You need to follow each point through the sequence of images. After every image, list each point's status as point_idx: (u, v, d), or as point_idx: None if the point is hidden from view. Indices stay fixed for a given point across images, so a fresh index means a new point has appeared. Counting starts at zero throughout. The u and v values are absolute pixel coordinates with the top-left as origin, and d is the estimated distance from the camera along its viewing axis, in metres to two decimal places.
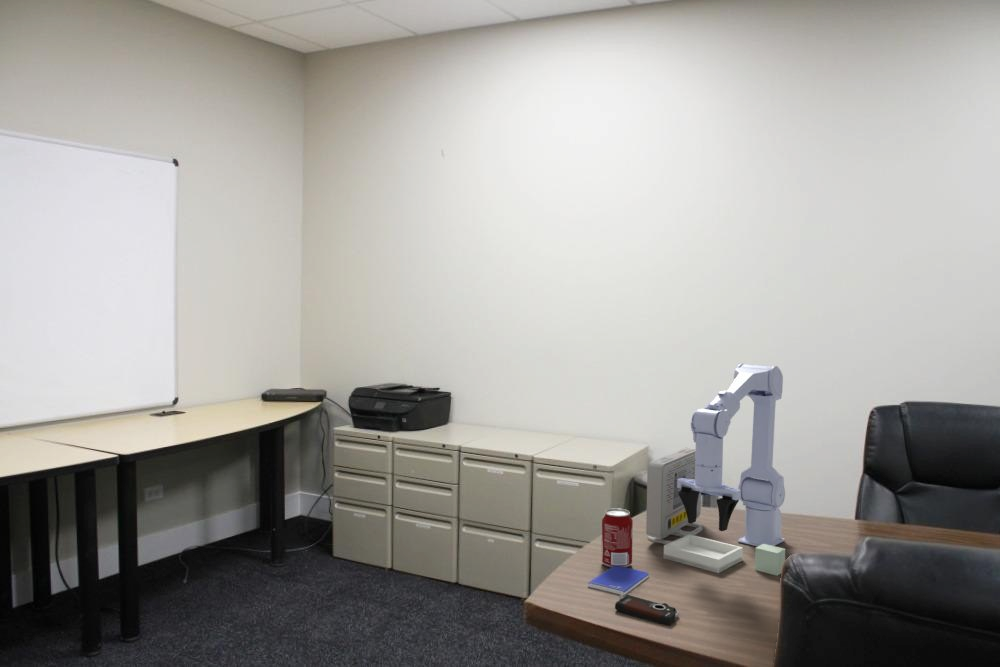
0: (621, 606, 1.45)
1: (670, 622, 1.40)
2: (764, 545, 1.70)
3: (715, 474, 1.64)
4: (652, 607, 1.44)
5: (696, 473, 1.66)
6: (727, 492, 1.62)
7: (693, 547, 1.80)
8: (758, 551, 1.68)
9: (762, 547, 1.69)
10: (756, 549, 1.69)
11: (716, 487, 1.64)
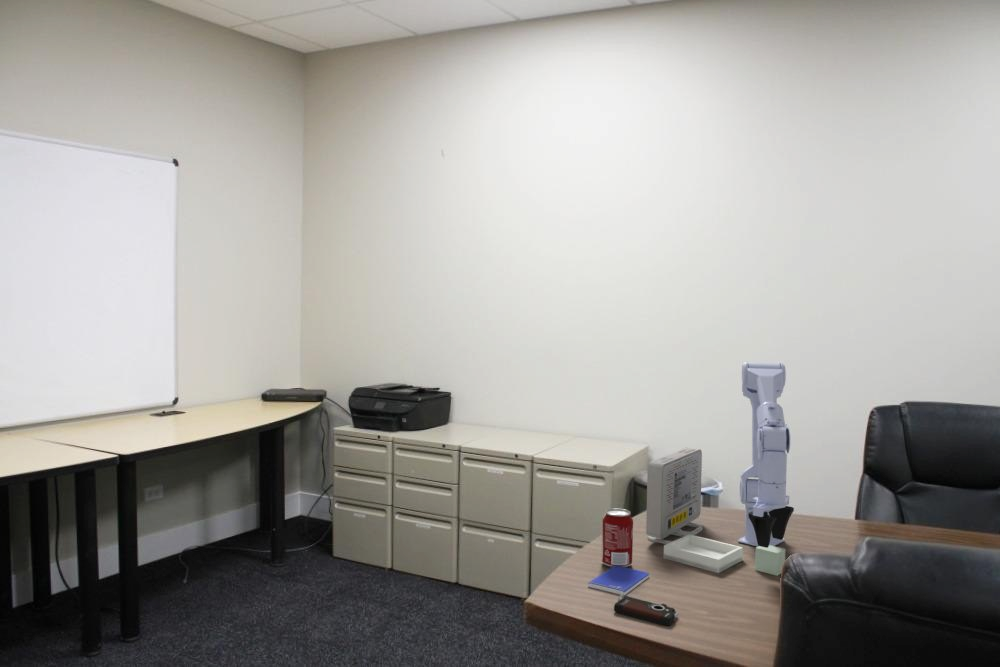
0: (620, 608, 1.45)
1: (670, 622, 1.40)
2: None
3: (761, 489, 1.67)
4: (651, 608, 1.44)
5: None
6: (755, 506, 1.65)
7: (693, 547, 1.80)
8: (758, 551, 1.68)
9: (762, 547, 1.69)
10: (756, 549, 1.69)
11: (761, 502, 1.67)
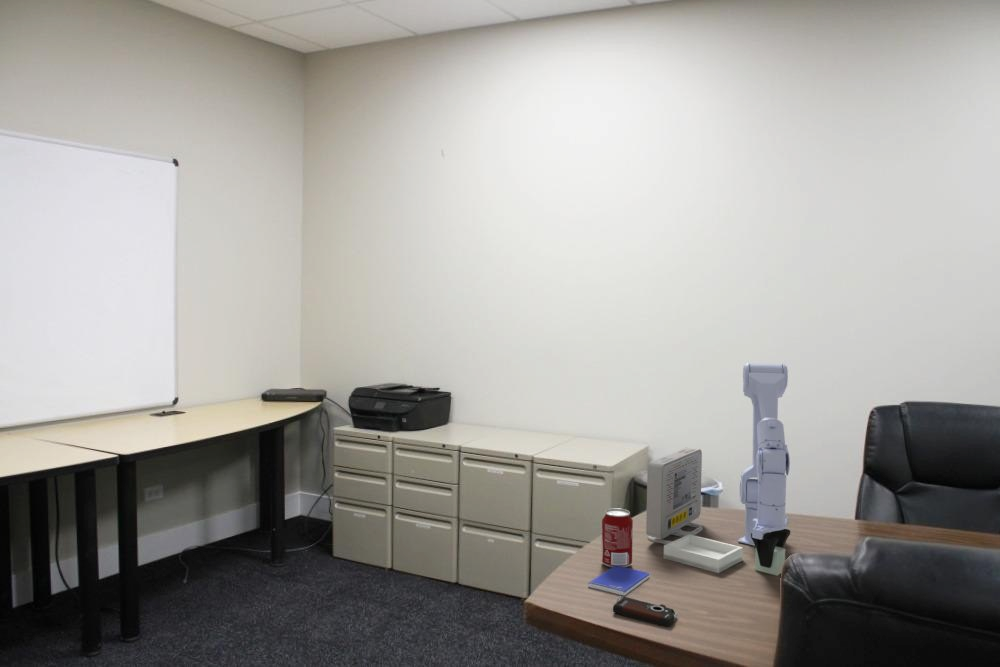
0: (619, 609, 1.44)
1: (669, 624, 1.39)
2: None
3: (760, 511, 1.67)
4: (650, 609, 1.43)
5: None
6: (754, 529, 1.65)
7: (693, 547, 1.80)
8: None
9: None
10: (756, 549, 1.69)
11: (760, 523, 1.67)
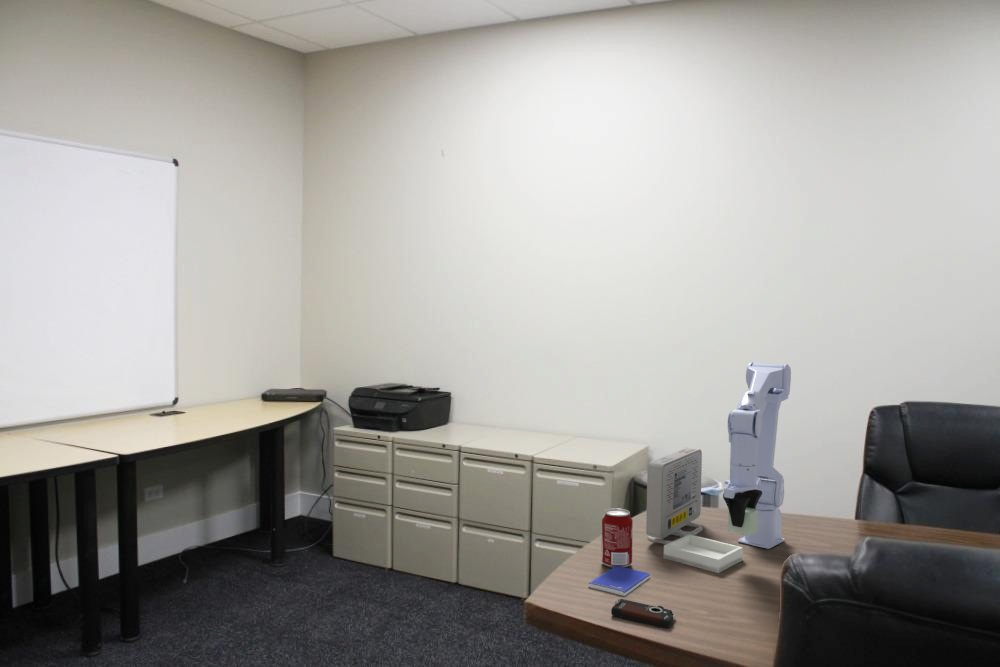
0: (618, 611, 1.43)
1: (669, 625, 1.39)
2: None
3: (732, 471, 1.70)
4: (649, 611, 1.42)
5: None
6: (726, 488, 1.68)
7: (693, 547, 1.80)
8: None
9: None
10: None
11: (732, 484, 1.70)
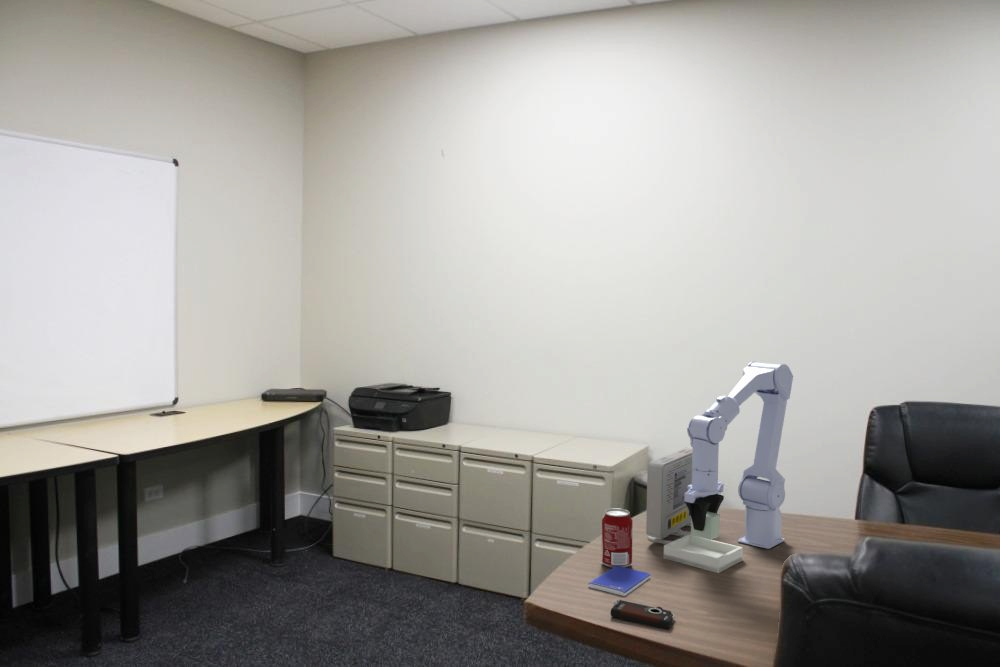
0: (617, 612, 1.42)
1: (669, 626, 1.38)
2: None
3: (694, 476, 1.74)
4: (648, 611, 1.42)
5: None
6: (687, 493, 1.72)
7: (693, 547, 1.80)
8: None
9: None
10: None
11: (694, 489, 1.74)
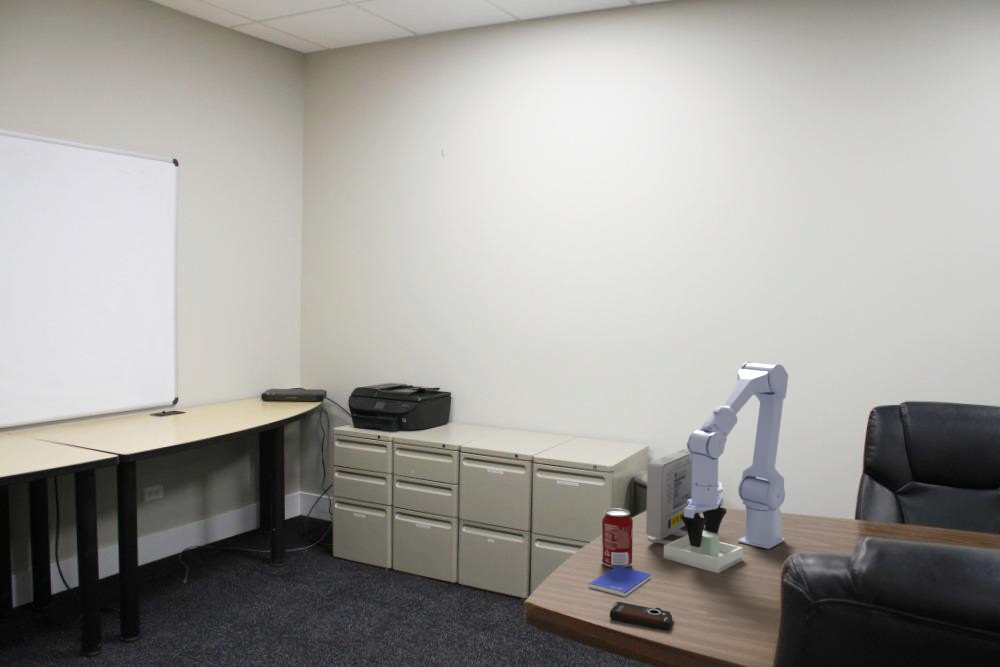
0: (616, 614, 1.42)
1: (669, 627, 1.38)
2: None
3: (693, 491, 1.74)
4: (648, 613, 1.41)
5: None
6: None
7: None
8: None
9: None
10: None
11: (693, 503, 1.74)
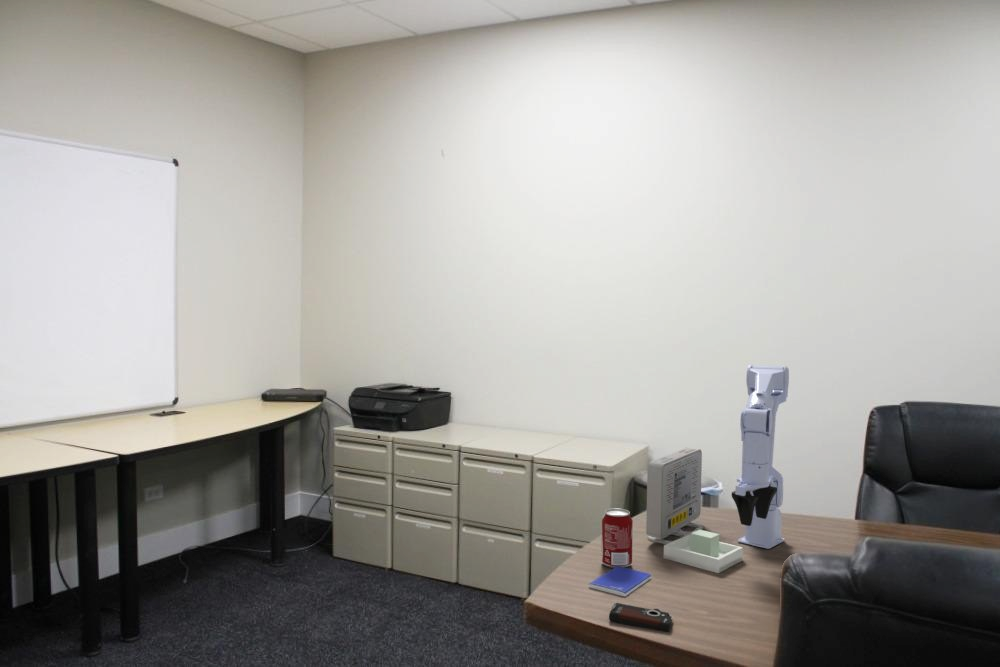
0: (616, 616, 1.41)
1: (669, 628, 1.37)
2: (700, 531, 1.77)
3: (744, 469, 1.72)
4: (647, 614, 1.41)
5: None
6: (738, 486, 1.70)
7: None
8: (693, 536, 1.75)
9: (697, 532, 1.75)
10: (691, 534, 1.75)
11: (744, 482, 1.72)
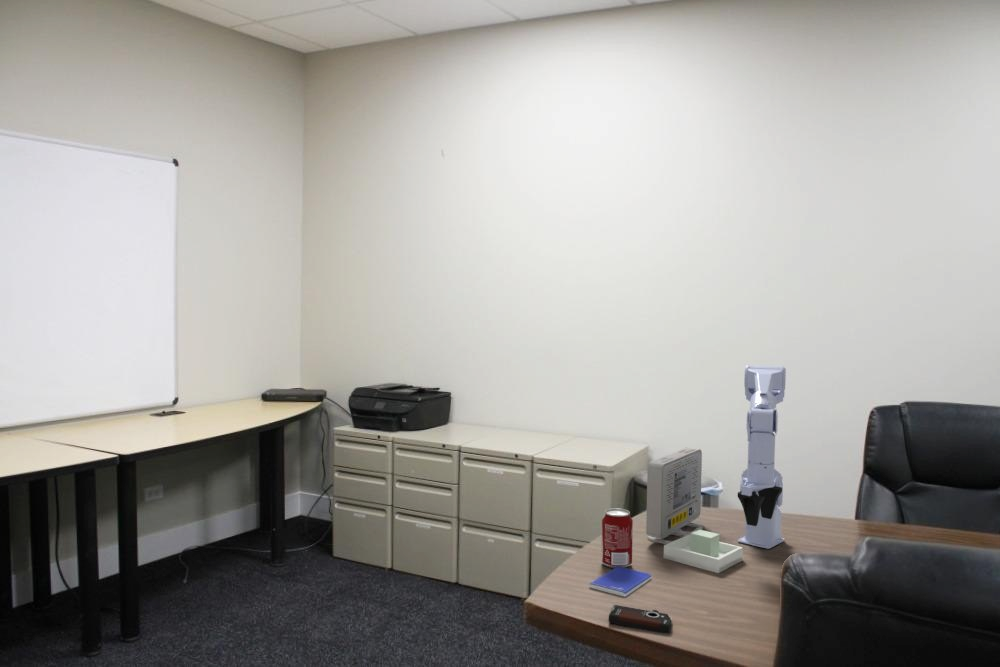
0: (615, 618, 1.40)
1: (669, 629, 1.37)
2: (700, 531, 1.77)
3: (750, 469, 1.72)
4: (646, 616, 1.40)
5: None
6: None
7: None
8: (693, 536, 1.75)
9: (697, 532, 1.75)
10: (691, 534, 1.75)
11: (750, 482, 1.72)
